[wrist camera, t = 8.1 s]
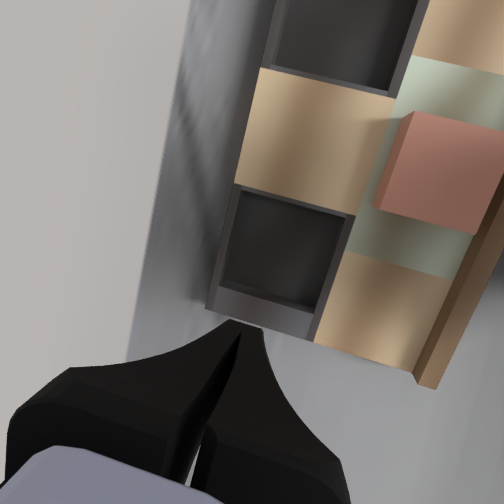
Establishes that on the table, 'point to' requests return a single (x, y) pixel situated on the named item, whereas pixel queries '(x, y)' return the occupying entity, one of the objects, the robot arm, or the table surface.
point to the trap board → (360, 180)
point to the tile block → (441, 171)
